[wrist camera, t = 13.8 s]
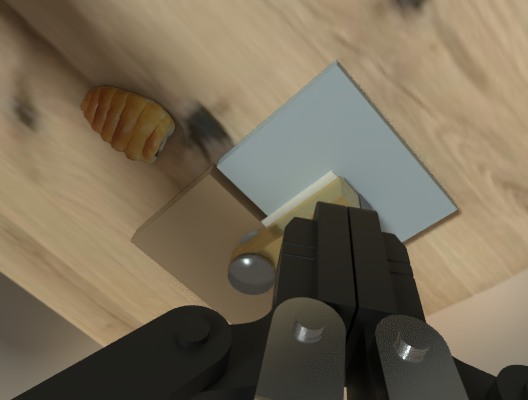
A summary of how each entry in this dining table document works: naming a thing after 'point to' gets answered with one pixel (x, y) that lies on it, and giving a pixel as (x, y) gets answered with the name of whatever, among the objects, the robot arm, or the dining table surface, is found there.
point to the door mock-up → (290, 188)
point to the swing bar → (278, 241)
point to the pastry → (128, 122)
